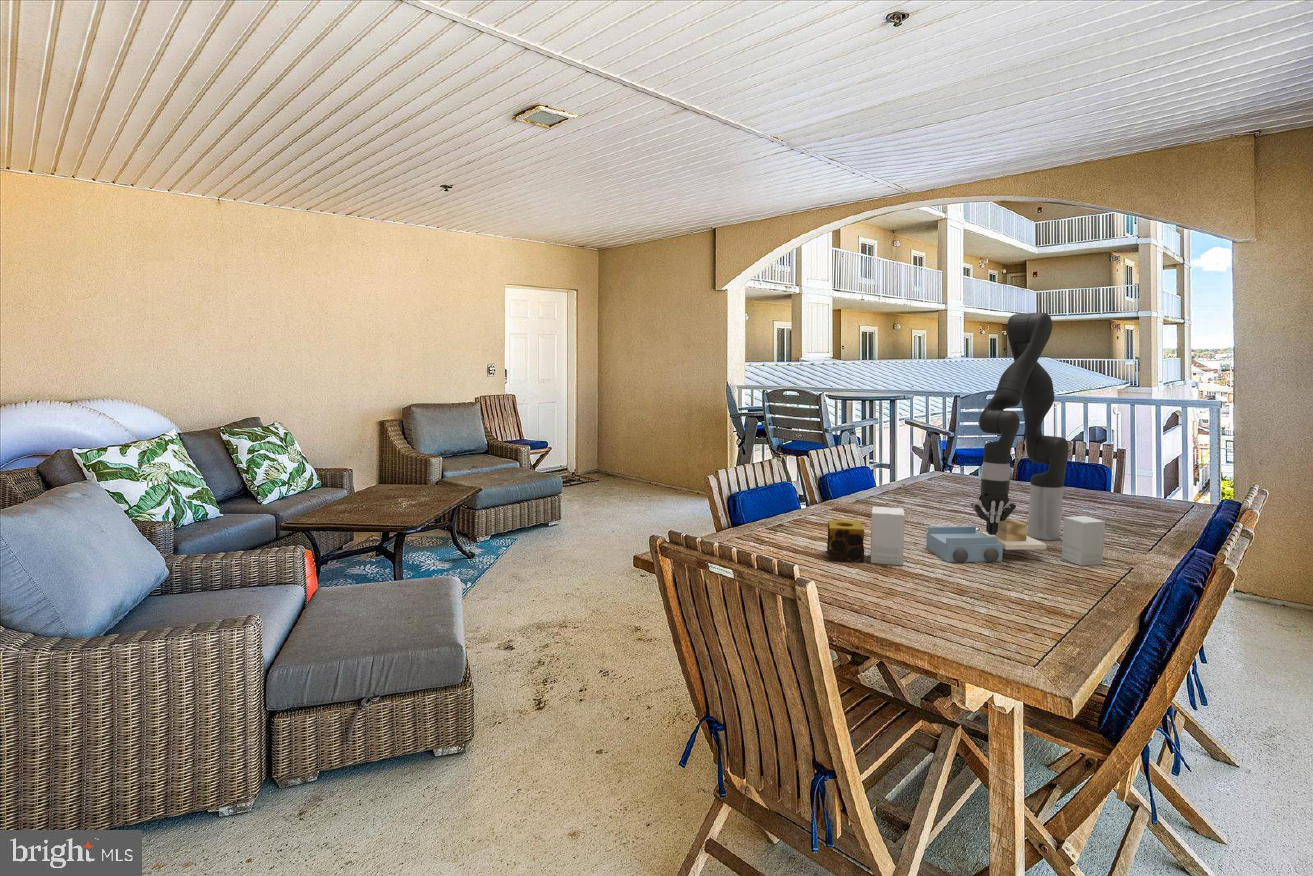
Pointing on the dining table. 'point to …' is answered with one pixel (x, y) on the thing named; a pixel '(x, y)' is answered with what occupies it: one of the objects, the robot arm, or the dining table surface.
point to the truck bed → (963, 544)
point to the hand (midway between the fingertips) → (991, 534)
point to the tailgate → (1019, 543)
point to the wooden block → (1012, 530)
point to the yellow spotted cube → (845, 541)
